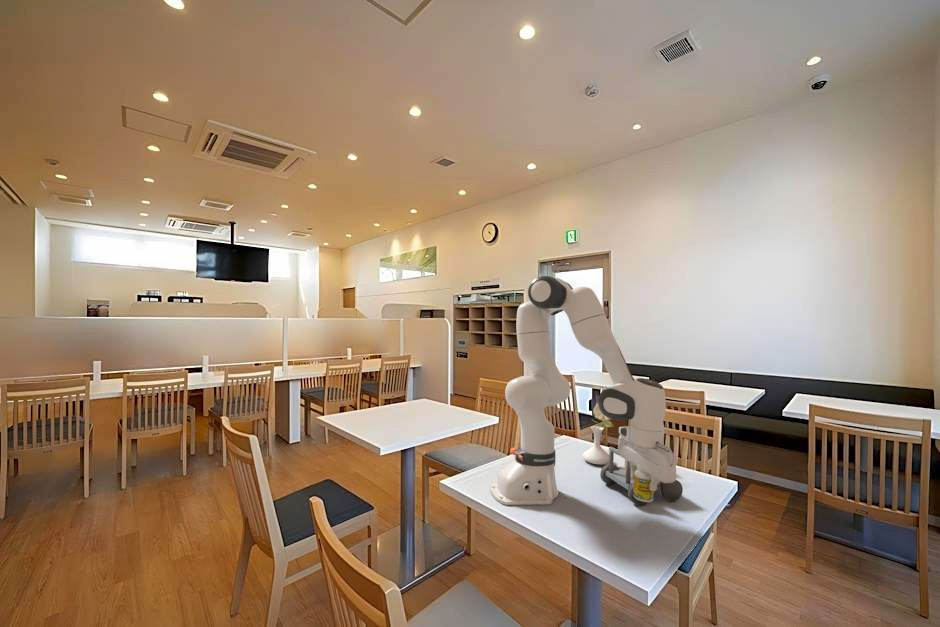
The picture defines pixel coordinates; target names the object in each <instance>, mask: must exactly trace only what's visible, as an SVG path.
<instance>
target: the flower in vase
mask: <svg viewBox="0 0 940 627" xmlns="http://www.w3.org/2000/svg"><path fill="white" fill-rule="evenodd" d="M592 412H593V415H594V418H596V419H597V420H600V421H601V424H599V426H597V425H594V426H591V427H590V428H591V430H592V431H593V437H594V438H593V439H594V440H593V446H592V447H590V448H589V449H586V450H585V451H584V453H583V454H582V459H583V460H584V461H585V462H588V463H590V464H594V465H600V466H601V465H603V466H604V465H606V464H609V452H607V451H606V450H605V449H604V448H602V445H601V435H602V433H603V431H604V430H605V428H604V427H602V425H604V426H605V427H606V428H612V427H615V425H614V424H613V423H612V422H611V421H610V420H611V419H610V418H608V417H606V416H605V415H604V414H603V413H602V412H601V411H600V409H599V406H598V402H597V403H596V405H594V408H593V411H592ZM592 422H594V423H596V424H598V422H597V421H595V420H594V419H592Z"/></svg>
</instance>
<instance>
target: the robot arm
mask: <svg viewBox="0 0 940 627" xmlns="http://www.w3.org/2000/svg"><path fill="white" fill-rule="evenodd" d="M527 296H528V301H525V302H523V303H521V304H520V305H519V306H518V308H517V311H516V324H515V325H516V326H515V327H516V329H515V330H516V340H517V352H518V353H517V354H518V358H519V359H520V360H521V362H523V363H524V364H525V365H526V366H527V367H528V369H529V371H530V375H522V376H519V377H516V378H514V379H512V380H509V381H508V382H507V384H506V387H505V390H504V395H505V396H504V397H505V401H506V403H507V404H508V405H509V407H510V408H512V409H513V410H514V411H515V412H516V415H517V417H518V421H519V425H520V447H519V449H516V448H515V447H511V448H510V449H509V450H510V451H509V452H510V453H511V454H512V455H513V456H514V457H515V458H514V459H513V460H512V461H511V462H509V463H508V464H507V465H506V466H505V467H503V468H502V469H501V470H500V471H499V473H498V474H497V481H496V482H494V483H491V485H490V493H491V496H493V498H494V499H495V500H496V501H498V503H501V504H503V505H504V506H505V505H506V506H515V505H516V506H525V505H528V506H529V505H552V503H553V501H554V500H555V499H556V498H557V497H558V496H559V490H558V486H557V480H556V470H555V466H556V449H555V426H554V424H553V423H552V422H550V421H549V420H548V419H547V417H546V412H545V409H546V407H553V406H556V405H559V404H561V403H563V402H565V401H566V400H568V398H569V396H570V394H571V386H570V382H569V380H568V379H567V378H566V377H565V376H564V374H562V373H561V372H560V370H559V369H558V366H557V365H556V362H555V359H554V356H553V351H552V344H551V335H550V327H549V326H550V325H549V318H550V316H555V315H558V314H559V313H561V312H564V313H565V314H566V315H567V318H568V321H569V324H570V326H571V330H572V333H573V335H574V336H575V339H576V341H577V342H578V344H579V345H580V346H581V347H582V348H584V349H586V350H589V351H590V352H593V353H594V354H595V355H597V356H598V357H599V358H600V359H601V360H602V362H603V364H604V366H605V369H606V371H607V373H608V375H609V379H610V380H611V382H612V386H610V387H607V388H606V389H603V390H602V391H601V392H600V393H599V396H598V397H597V403H598V406H599V409H600V411H601V412H602V413H603V414H604V415H605V416H606V417H608V418H610V420H614V421H615V420H616V421H617V420H618V421H619V420H620V421H629V422H630V425H629V426H627V425H625V426H619V427H618V434H619V436H618V440H617V450H618V452H619V455H620V456H619V455H618V456H619V457H621V458H623V459H624V460H625V459H626V460H627V461H629V462H630V468H631V471H632V478H633V479H634V472H635V471H636V470H638V469H637V464H638V465H640V466H641V467H642V470H643V471H645V472H647V473H648V474H650V475H651V479H652V481H651V483H648V489H650V490H651V491H654V492H656V491H657V489H658V487H657V484H658V483H659V482H660V481H661V482H663V483H673V482H674V481H675V480H677V464H676V458H675V454H674V452H673V450H672V449H671V448H670V447H669V446H667V445H665V444H664V439H665V424H664V418H665V415H666V409H667V408H666V407H667V406H666V405H667V403H666V401H667V400H666V391H665V388H664V386H663V385H662V384H661V383H659V382H658V381H655V380H652V379H649V378H644V377H639V378H638V377H637V378H636V379H635V378H634V376H633V375H632V373H631V371H630V368H629V365H628V364H627V361H626V360H625V357H624V354H623V353H622V351H621V349H620V346H619V345H618V343H617V341H616V338H615V336H614V334H613V332H612V329H611V326H610V323H609V320H608V318H607V316H606V315H607V314H606V313H605V310H604V308H603V306H602V304H601V301H600V299H599V298H598V297H597V296H598V295H596V293H595V292H594V290H593V289H592V288H590V287H588V286H587V287H586V286H580V287H576V288H573V287H572V285H571V284H570V283H568V282H567V281H565V280H563V279H560V278H558V277H553V276H550V275H541V276H537V277H535V278H534V279H533V280H532V281H531V282H530V284H529V286H528V288H527Z"/></svg>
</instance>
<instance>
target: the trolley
mask: <svg viewBox="0 0 940 627" xmlns="http://www.w3.org/2000/svg"><path fill="white" fill-rule="evenodd" d="M608 454H609V463H608V464H604V465H603V467H602V468H601V470H600V479H601V481H602V482H603V483H605V484H606V485H608V486H610V487H613V486H612V485H614V486H615V485H616V486H617V484H618V485H620V486H621V487H623V488H624V489H626V490H627V497H628V500H630V502H632V503H633V504H635V506H638V507H643V506H646V504H648V503H649V502H642V501H639V500H637V499H636V498H635V497H634V496H633V489H634V479H633V478H632V471H631V468H630V462H629V461H627V460H626V459H624V469H623V468H621V469H620V467H619V466H617V465H616V464H614V460H615V459H614V454H615V455H618V456H619V457H621V456H620V455H619V452H618V448H617V449H616V448H615V447H613V446H609V447H608ZM657 488H659V492H660V495H661V497H662V498H663V499H665V500H666V501H668V502H670V503H675V502H677V501H678V500H680V498H681V497H682V495H683V485H682V483H681V482H680V481H679V480H677V479H676V480H675V481H674V482H673V483H663V482H661V481H660V482H659V483H658V484H657Z"/></svg>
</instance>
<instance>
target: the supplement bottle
mask: <svg viewBox="0 0 940 627" xmlns="http://www.w3.org/2000/svg"><path fill="white" fill-rule="evenodd" d="M637 469H638V470H636V471H635V472H634V489H633V496H634V497H635V498H636V499H637V500H639V501H642V502H648V503H650V502H651V503H652V502H653V501H654V495H655V491H651V490H650V489H648V483H651V481H652V479H651V475H650V474H648V473H647V472H645V471H643V470H642V467H641V466H640V465H638V464H637Z"/></svg>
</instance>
